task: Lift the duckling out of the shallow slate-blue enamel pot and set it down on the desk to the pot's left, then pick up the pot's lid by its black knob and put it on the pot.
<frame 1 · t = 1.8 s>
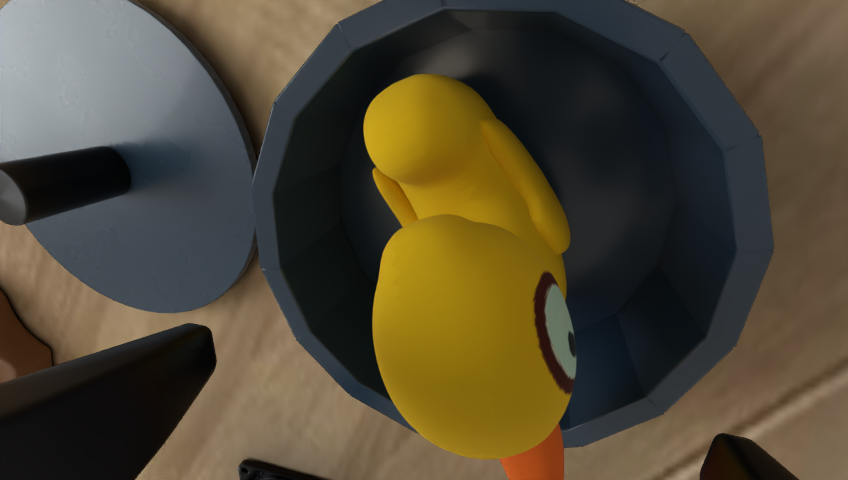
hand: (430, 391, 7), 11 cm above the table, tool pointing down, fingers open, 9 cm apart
pot: (491, 208, 17), on the table
pot lid: (119, 168, 20), point 1 cm above the table
duckling: (491, 209, 17), resting on pot
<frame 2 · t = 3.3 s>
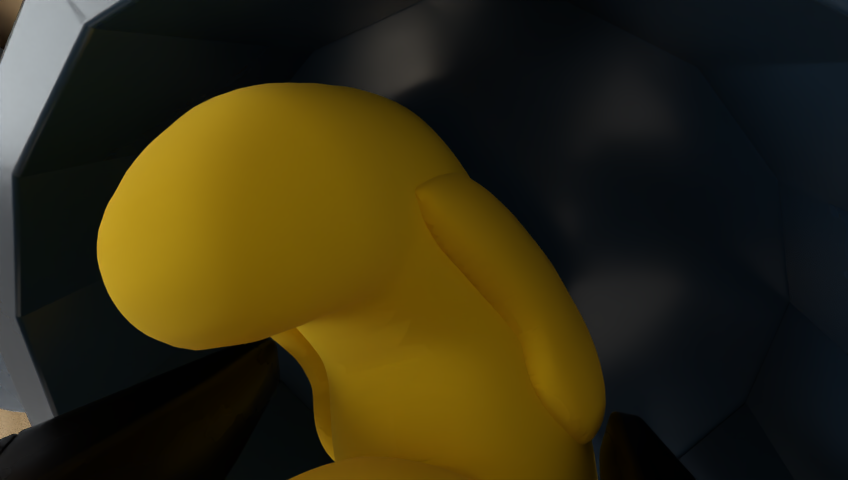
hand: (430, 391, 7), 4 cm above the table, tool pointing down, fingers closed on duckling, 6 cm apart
pot: (466, 296, 11), on the table
duckling: (465, 298, 10), resting on pot, touching gripper
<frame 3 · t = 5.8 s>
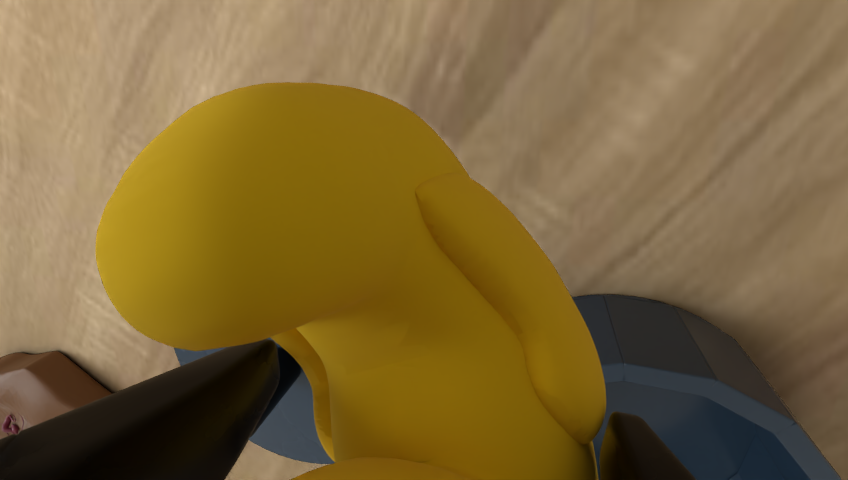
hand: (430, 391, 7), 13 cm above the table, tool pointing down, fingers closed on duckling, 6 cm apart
pot: (602, 417, 22), on the table
pot lid: (287, 359, 25), point 1 cm above the table
duckling: (465, 298, 10), point 9 cm above the table, touching gripper
plant: (84, 445, 36), on the table
when the fingers open (3 cm above the table, at t = 8.6 s): duckling stays where it is, on the table.
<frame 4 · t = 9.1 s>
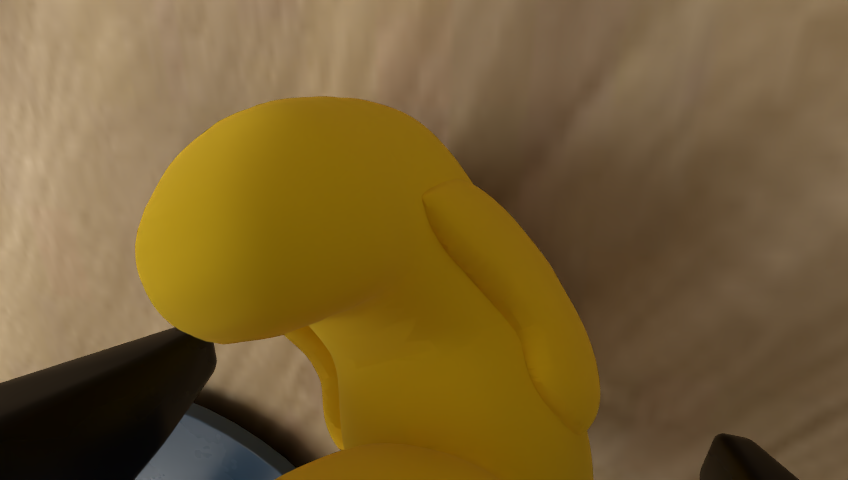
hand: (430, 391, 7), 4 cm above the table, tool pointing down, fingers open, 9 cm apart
duckling: (466, 297, 11), on the table
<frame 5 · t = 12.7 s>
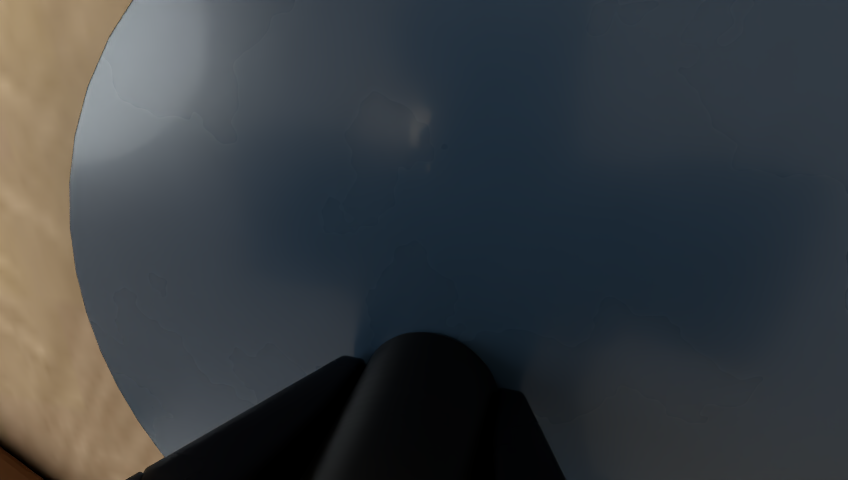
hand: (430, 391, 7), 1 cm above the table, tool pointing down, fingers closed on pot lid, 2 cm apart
pot lid: (437, 368, 8), point 1 cm above the table, touching gripper
when the fingers open (6 cm above the table, at t = 17.4 s): pot lid stays where it is, resting on pot.
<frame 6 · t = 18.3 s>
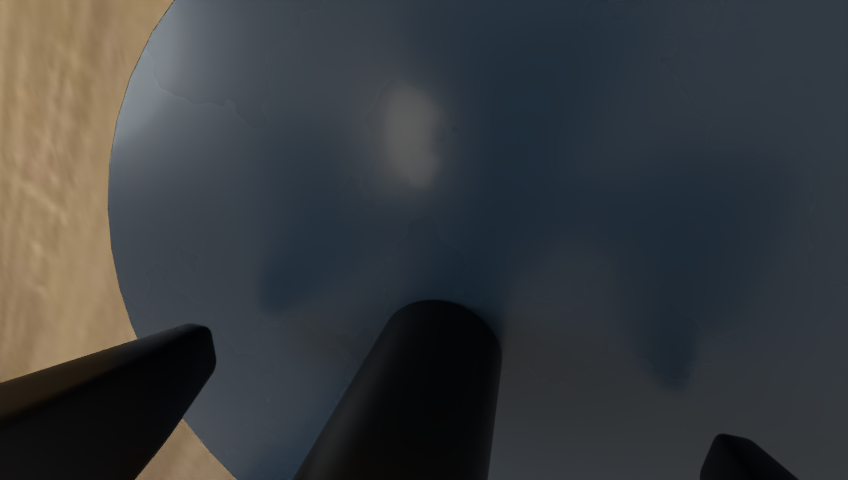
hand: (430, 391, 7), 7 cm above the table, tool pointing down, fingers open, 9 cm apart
pot lid: (445, 336, 9), point 5 cm above the table, touching pot
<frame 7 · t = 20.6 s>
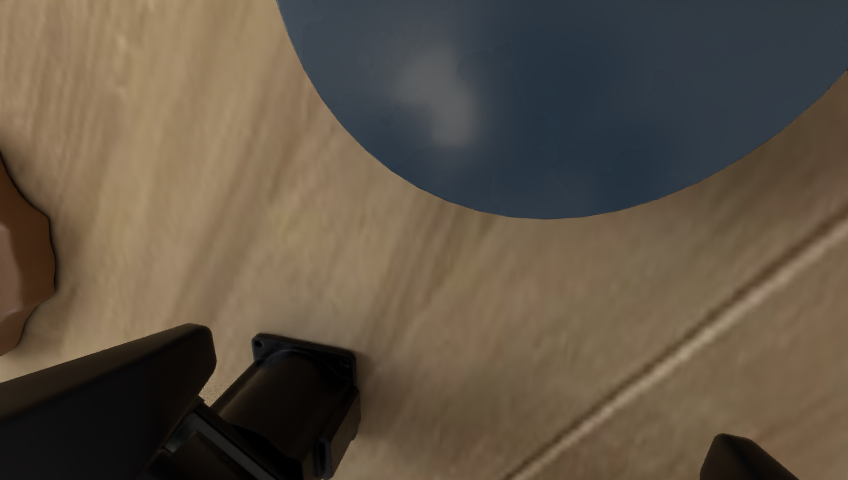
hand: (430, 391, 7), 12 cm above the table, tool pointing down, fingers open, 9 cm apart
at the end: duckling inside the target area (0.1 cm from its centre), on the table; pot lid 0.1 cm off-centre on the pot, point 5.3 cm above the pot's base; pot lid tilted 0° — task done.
